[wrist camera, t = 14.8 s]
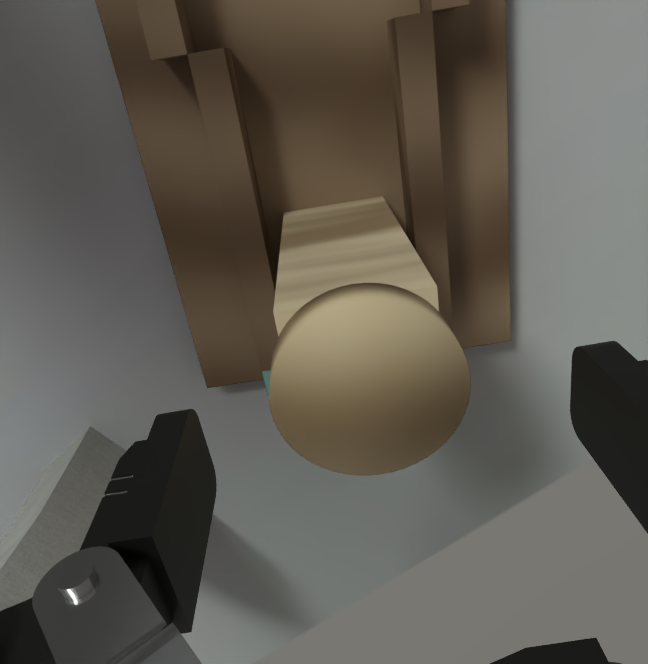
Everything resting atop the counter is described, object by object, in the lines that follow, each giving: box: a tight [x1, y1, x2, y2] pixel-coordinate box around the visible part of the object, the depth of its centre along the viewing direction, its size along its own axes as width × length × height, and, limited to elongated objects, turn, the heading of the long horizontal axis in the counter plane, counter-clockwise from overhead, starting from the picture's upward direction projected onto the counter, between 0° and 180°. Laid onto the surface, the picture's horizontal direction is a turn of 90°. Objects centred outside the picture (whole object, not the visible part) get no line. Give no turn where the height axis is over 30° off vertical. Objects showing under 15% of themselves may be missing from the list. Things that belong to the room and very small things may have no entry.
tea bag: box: [0, 427, 126, 611], centre depth 25 cm, size 4×7×10 cm, turn 44°
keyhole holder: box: [95, 0, 511, 396], centre depth 20 cm, size 25×14×3 cm, turn 9°
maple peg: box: [269, 196, 471, 475], centre depth 19 cm, size 5×5×11 cm
